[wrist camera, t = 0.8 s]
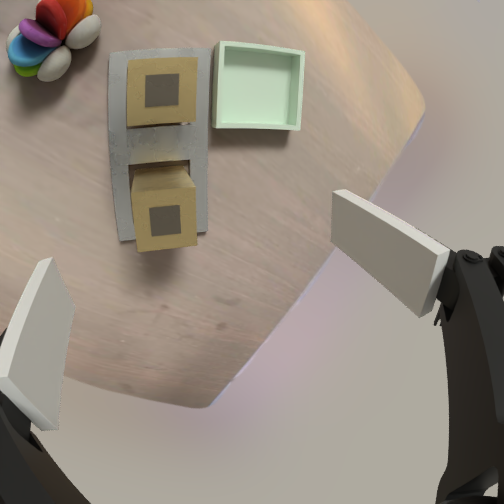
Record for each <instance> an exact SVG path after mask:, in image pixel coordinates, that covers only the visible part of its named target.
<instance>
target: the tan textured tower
mask: <svg viewBox="0 0 504 504" xmlns="http://www.w3.org/2000/svg"><path fill="white" fill-rule="evenodd" d="M197 68H198V57H168V58H148V59H135V60H128V77H127V126H137V125H148V124H161V123H177V122H196V94H197Z"/></svg>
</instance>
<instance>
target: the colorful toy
mask: <svg viewBox="0 0 504 504" xmlns="http://www.w3.org/2000/svg"><path fill="white" fill-rule="evenodd" d="M92 12H93V4H92V2H91V0H39V2H38V3H37V6H36V8H35V17H36V20H31V19H24V20H22V21H21V22H20V24H19V25H18V26H17V27H16V28H15V29H13V31H12V32H11V33H10V35H9V36H8V39H7V42H6V50H7V53H8V58H9V60H10V61H11V63H12V64H14V68H15V70H16V72H17V73H18V74H20V75H21V76H24V77H30V76H34V75H36V74H37V77H38V79H39V80H41V81H44V82H50V81H54V80H56V79H58V78H60V77H61V76H62V75H63V74H64V73H65V72H66V71H67V69H68V68H69V66H70V63H71V52H70V50H69V49H70V48H73V49H81V48H84V47H86V46H88V45H90V44H91V43H92V42H93V41H94V40H95V39H96V38H97V37H98V35H99V33H100V30H101V21H100V18H99V17H98V16H97V15H92ZM63 39H65V45H64V46H60V44H61V42H62V40H63Z"/></svg>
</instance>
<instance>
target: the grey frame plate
mask: <svg viewBox="0 0 504 504" xmlns="http://www.w3.org/2000/svg"><path fill="white" fill-rule="evenodd" d="M168 57H198V68H197V94H196V122H189V125H171V126H157V127H145V128H134V129H127V69H128V60H135V59H148V58H168ZM210 59H211V48H160V49H143V50H131V51H121V52H113V53H110V59H109V83H108V122H109V147H110V163H111V176H112V187H113V196H114V205H115V213H116V221H117V228H118V235H119V241H125V240H134V239H136V236H135V228H134V221H133V212H132V203H131V192H130V179H129V165H132V164H142V163H152V162H163V161H176V160H189V177H190V178H191V180H192V181H193V183H194V185H195V186H196V221H197V232H206V231H208V197H207V168H208V109H209V80H210Z"/></svg>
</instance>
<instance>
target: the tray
mask: <svg viewBox="0 0 504 504" xmlns="http://www.w3.org/2000/svg"><path fill="white" fill-rule="evenodd" d="M304 62H305V51H300V50H294V49H289V48H282V47H276V46H269V45H261V44H252V43H242V42H230V41H219V42H218V43H217V44H216V45H215V46H214V65H213V88H212V119H211V127H214V128H257V129H283V130H300V126H301V112H302V97H303V80H304Z"/></svg>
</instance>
